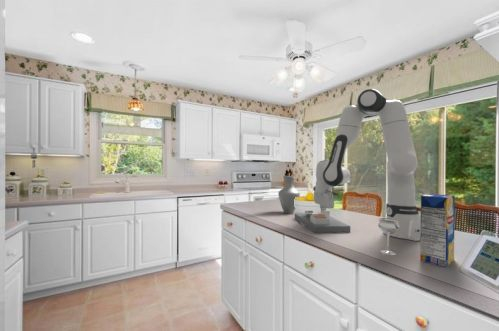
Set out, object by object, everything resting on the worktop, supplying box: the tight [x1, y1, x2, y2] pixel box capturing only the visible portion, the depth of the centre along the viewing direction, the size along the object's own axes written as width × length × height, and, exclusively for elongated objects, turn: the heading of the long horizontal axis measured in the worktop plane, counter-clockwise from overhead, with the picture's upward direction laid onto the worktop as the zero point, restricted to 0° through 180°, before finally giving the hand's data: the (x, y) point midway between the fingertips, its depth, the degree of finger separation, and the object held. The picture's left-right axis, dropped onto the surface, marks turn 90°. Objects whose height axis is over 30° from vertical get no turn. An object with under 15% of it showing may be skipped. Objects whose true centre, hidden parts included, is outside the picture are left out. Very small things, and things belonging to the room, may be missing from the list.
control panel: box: [294, 212, 351, 234], centre depth 130 cm, size 18×32×6 cm, turn 6°
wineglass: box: [377, 217, 399, 256], centre depth 88 cm, size 7×7×12 cm
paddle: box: [320, 209, 331, 218], centre depth 131 cm, size 4×2×4 cm, turn 96°
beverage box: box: [419, 193, 456, 268], centre depth 81 cm, size 7×11×22 cm, turn 129°
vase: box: [277, 175, 301, 214], centre depth 163 cm, size 14×14×25 cm
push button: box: [315, 214, 325, 218], centre depth 120 cm, size 5×5×2 cm
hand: (323, 213), depth 133 cm, fingers closed
